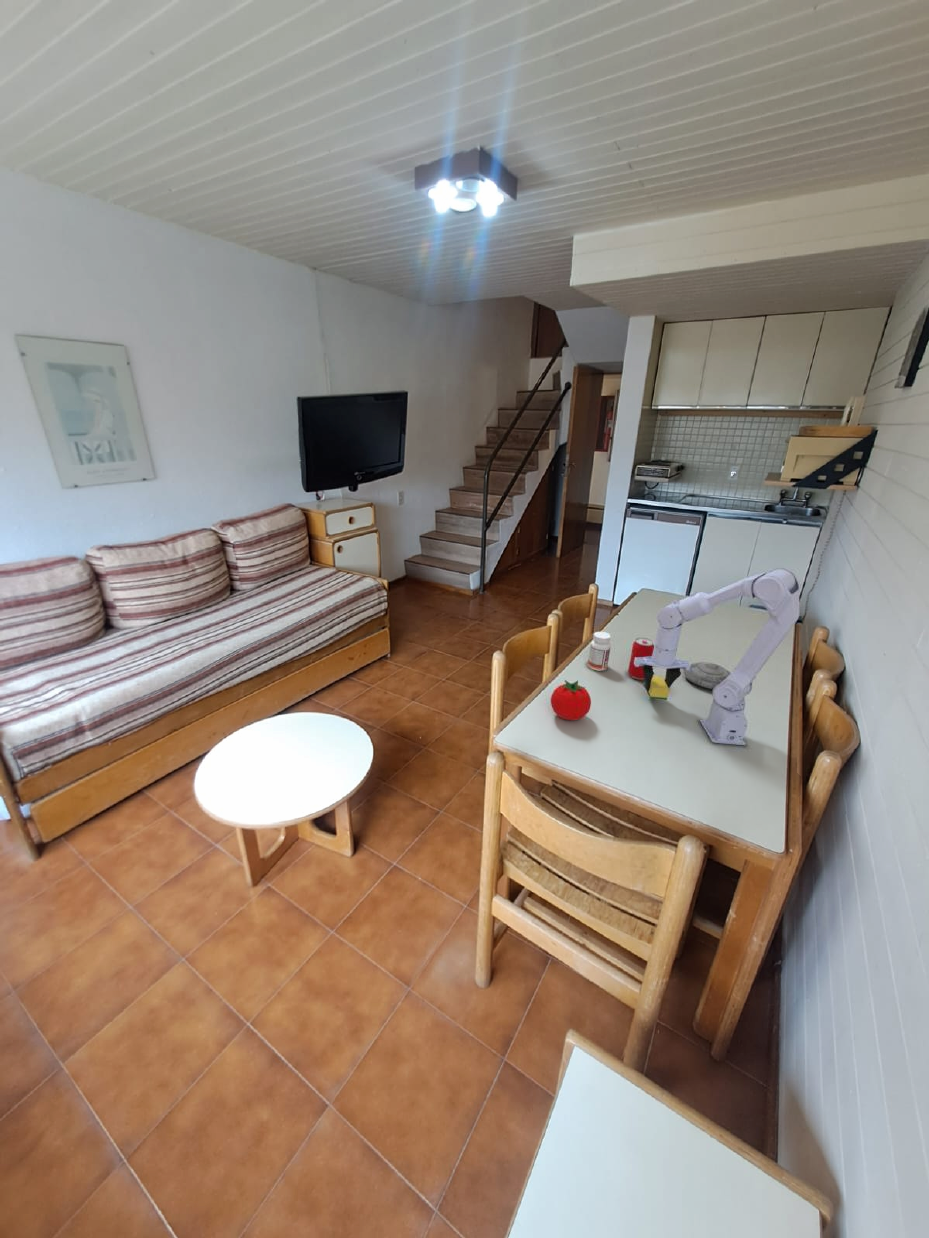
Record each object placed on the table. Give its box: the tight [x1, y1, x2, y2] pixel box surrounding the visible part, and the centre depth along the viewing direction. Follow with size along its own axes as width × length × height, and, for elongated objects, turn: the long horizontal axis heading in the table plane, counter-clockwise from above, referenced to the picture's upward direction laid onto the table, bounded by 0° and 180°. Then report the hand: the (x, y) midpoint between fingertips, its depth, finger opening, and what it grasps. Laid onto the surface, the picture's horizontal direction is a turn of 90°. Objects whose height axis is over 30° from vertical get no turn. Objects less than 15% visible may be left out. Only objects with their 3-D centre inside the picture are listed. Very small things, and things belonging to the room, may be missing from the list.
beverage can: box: [627, 637, 655, 680], centre depth 151 cm, size 6×6×12 cm
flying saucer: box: [682, 661, 731, 690], centre depth 151 cm, size 15×15×6 cm
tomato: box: [550, 679, 592, 721], centre depth 130 cm, size 10×10×10 cm
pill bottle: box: [587, 631, 612, 672], centre depth 156 cm, size 6×6×11 cm
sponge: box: [643, 675, 670, 701], centre depth 138 cm, size 7×4×4 cm, turn 175°
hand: (656, 689), depth 138 cm, fingers closed on sponge, 4 cm apart
